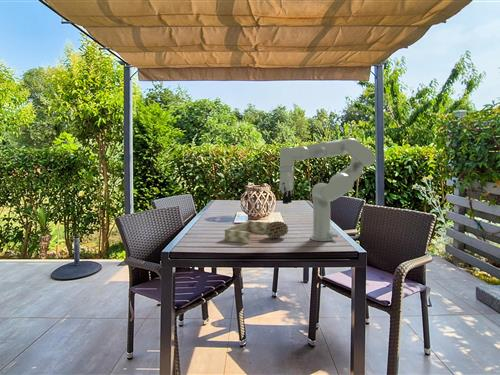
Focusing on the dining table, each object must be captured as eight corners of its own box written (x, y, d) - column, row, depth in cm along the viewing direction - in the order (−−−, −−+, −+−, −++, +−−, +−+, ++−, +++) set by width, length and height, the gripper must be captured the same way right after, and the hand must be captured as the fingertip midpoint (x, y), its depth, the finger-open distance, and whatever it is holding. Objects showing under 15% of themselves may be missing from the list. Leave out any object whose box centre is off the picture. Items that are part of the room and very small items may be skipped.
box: (270, 232, 200) (270, 222, 200) (249, 243, 176) (249, 232, 175) (248, 229, 208) (248, 220, 207) (224, 240, 183) (224, 229, 182)
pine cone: (286, 235, 191) (286, 219, 190) (289, 240, 181) (289, 222, 180) (249, 237, 189) (249, 220, 188) (250, 241, 180) (250, 223, 179)
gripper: (286, 169, 186) (286, 200, 187) (274, 170, 171) (274, 204, 173) (298, 169, 182) (298, 201, 184) (287, 170, 167) (287, 205, 169)
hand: (287, 202), depth 178 cm, fingers open, 3 cm apart
